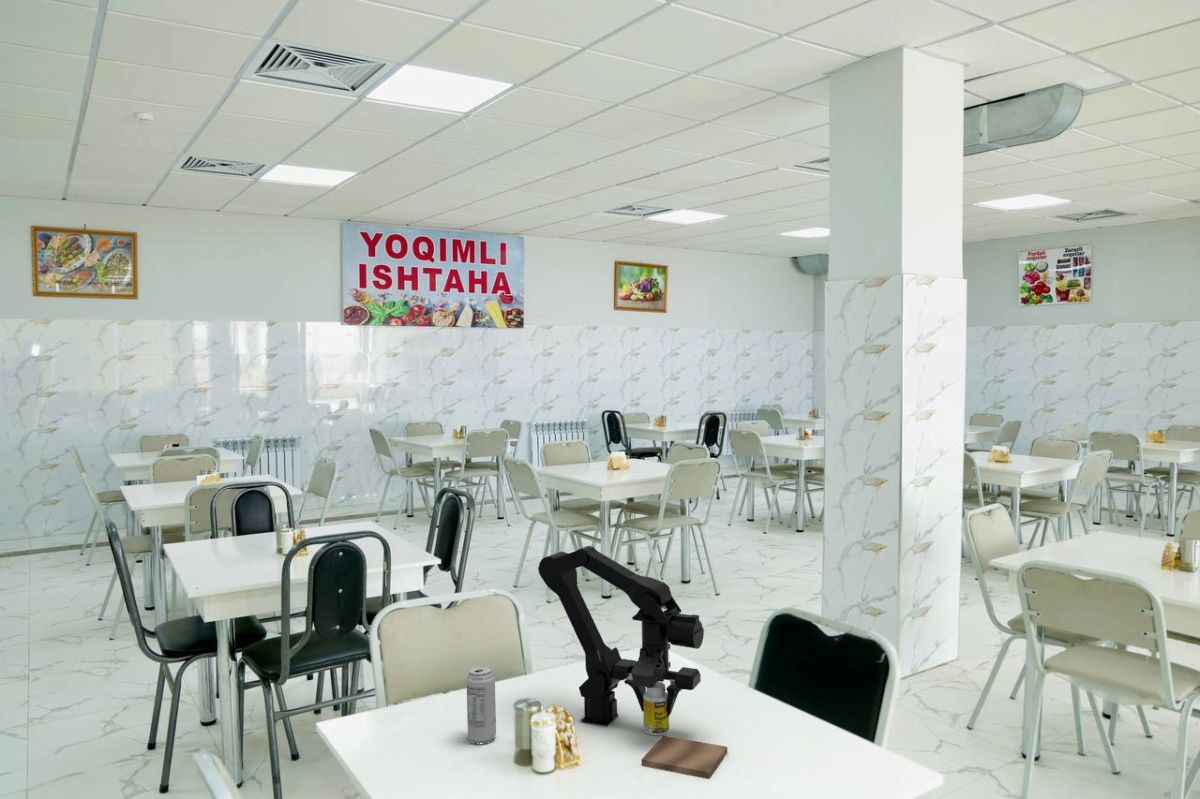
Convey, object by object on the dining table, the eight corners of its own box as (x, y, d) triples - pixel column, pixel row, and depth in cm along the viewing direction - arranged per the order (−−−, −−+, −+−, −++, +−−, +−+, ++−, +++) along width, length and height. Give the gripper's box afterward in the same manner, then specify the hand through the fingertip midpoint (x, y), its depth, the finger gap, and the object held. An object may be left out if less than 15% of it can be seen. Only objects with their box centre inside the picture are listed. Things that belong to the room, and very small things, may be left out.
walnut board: (641, 765, 168) (641, 759, 168) (663, 741, 179) (662, 735, 179) (709, 778, 162) (709, 772, 162) (727, 752, 173) (727, 746, 173)
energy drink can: (502, 738, 181) (500, 669, 181) (480, 748, 177) (478, 677, 176) (484, 730, 185) (482, 663, 185) (462, 739, 181) (460, 670, 180)
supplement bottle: (654, 739, 180) (653, 691, 179) (638, 730, 184) (637, 683, 184) (674, 732, 183) (673, 685, 182) (659, 723, 187) (658, 678, 187)
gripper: (600, 647, 179) (601, 720, 180) (683, 658, 172) (684, 734, 172) (621, 632, 190) (622, 701, 190) (700, 642, 182) (701, 714, 182)
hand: (656, 712), depth 183 cm, fingers closed on supplement bottle, 5 cm apart
